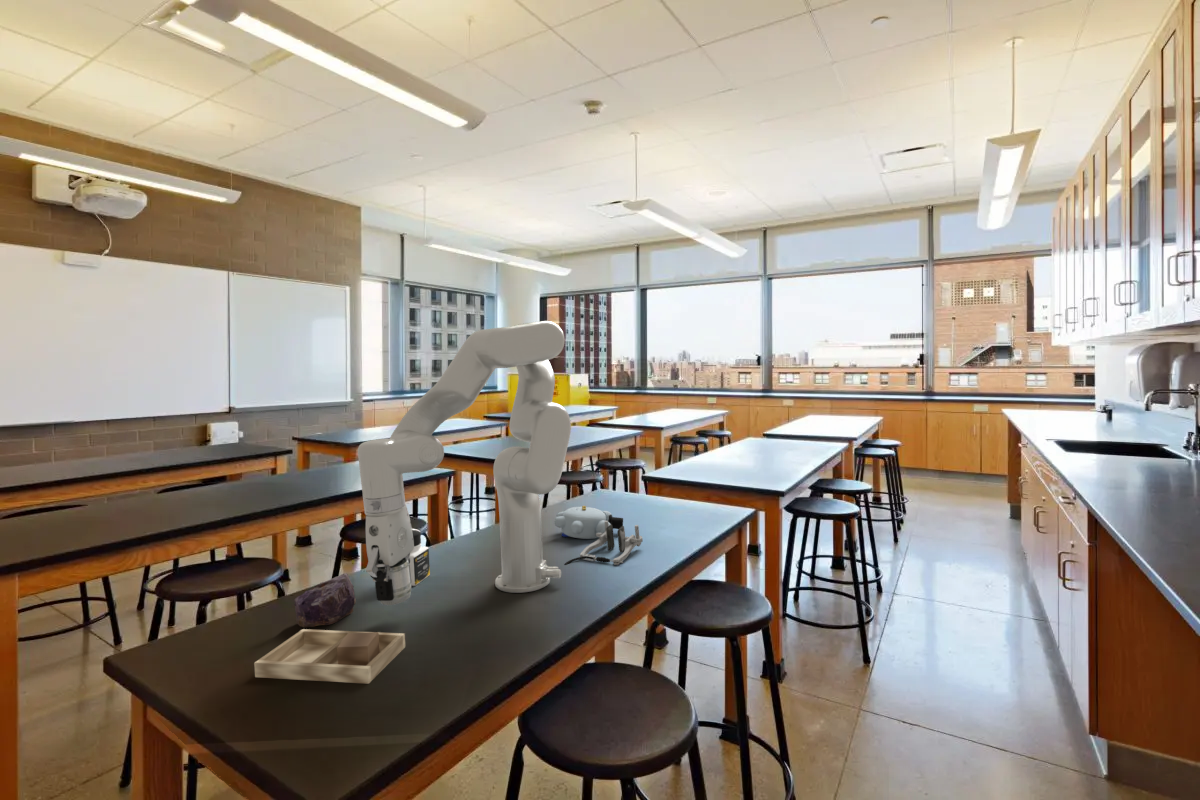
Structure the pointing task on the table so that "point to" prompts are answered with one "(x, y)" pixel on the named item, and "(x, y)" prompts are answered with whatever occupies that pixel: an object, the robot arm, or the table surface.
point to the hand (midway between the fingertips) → (394, 591)
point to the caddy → (325, 658)
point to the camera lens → (399, 582)
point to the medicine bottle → (418, 560)
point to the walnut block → (358, 649)
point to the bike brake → (611, 544)
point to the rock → (325, 602)
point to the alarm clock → (585, 522)
